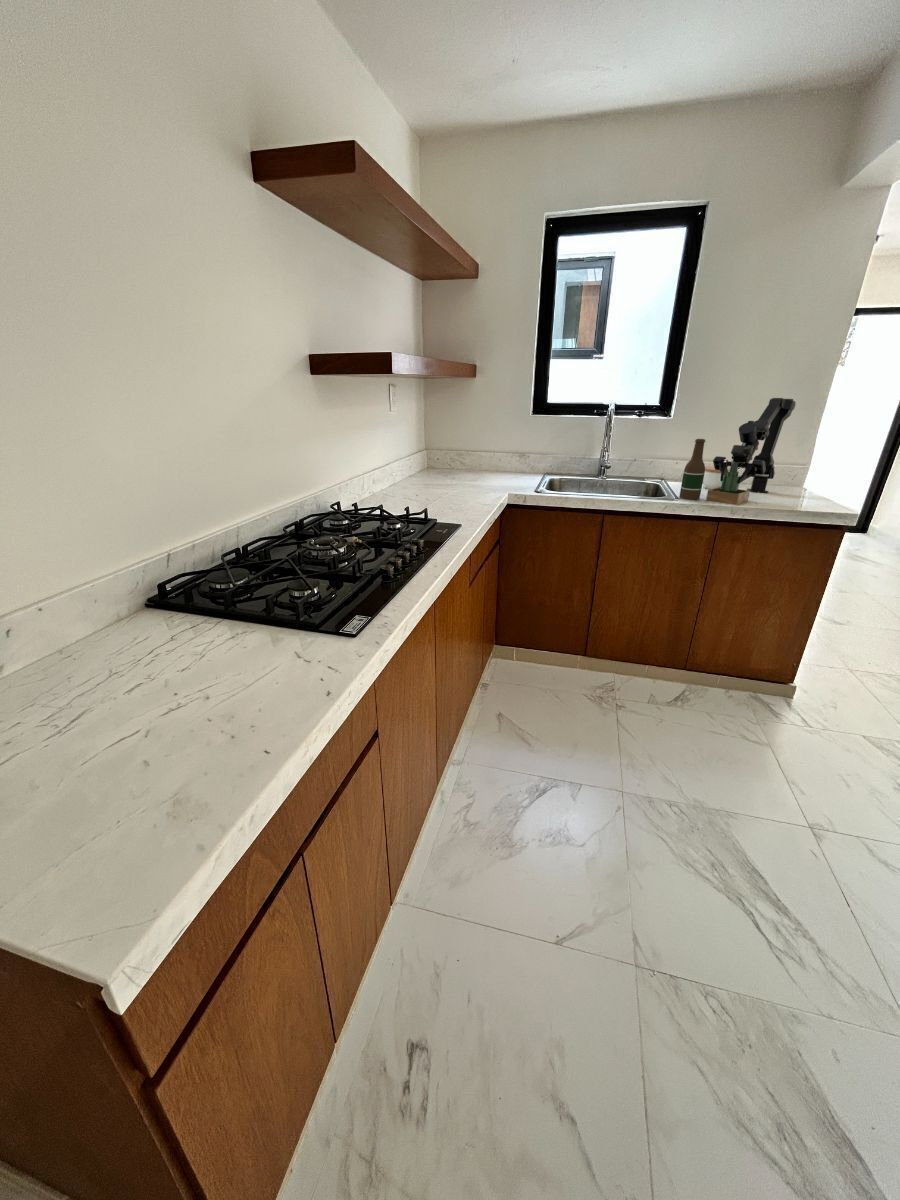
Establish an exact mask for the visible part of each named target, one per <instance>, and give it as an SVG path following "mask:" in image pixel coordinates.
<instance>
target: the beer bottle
mask: <svg viewBox="0 0 900 1200" xmlns="http://www.w3.org/2000/svg"><path fill="white" fill-rule="evenodd" d="M694 443H695V444H694V447H693V451H692V455H691V458H690V460H689V461H688V462H687V463H686V465H685V467H684V469H683V470H684V471H683V474H682V480H681V486H680V490H679V499H681V500H686V501H698V500H700V497H701V493H702V487H703V485H704V484H703V479H704V474H705V466H706V465H705V462H704V461H703V455H704V449H705V443H706V439H705V438H696V439H695V440H694Z"/></svg>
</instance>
